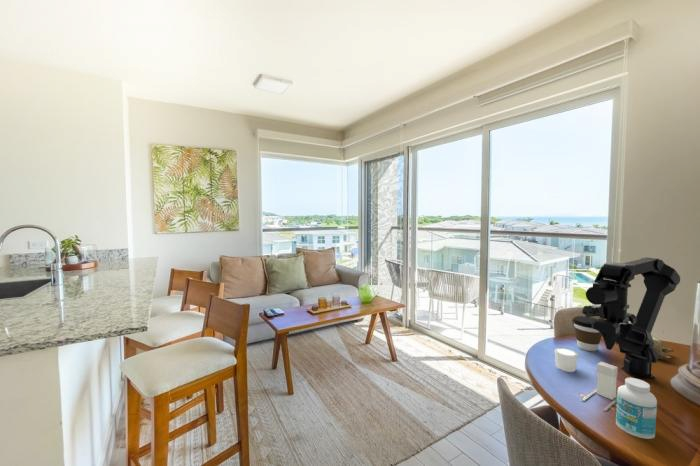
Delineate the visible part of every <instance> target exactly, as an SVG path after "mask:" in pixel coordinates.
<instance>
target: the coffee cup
mask: <svg viewBox="0 0 700 466" xmlns="http://www.w3.org/2000/svg"><path fill="white" fill-rule="evenodd" d="M598 319H599V318H594V317H586V316H582V315H581V316H580V315H578V316H576V315H575V316H574V317H573V318H572V320H571V322H572V323H573V324H574V325H573V328H574V334H575V335H574V336H575V339H576V342H577V346H578V348H580V349H581V350H583V351H586V352H587V351H588V352H596V351H597V350H599V345H600V343H601V339H602V337H603V336H602V334H601V333H600V332H599V331H597V330H595V329H593V328H592V322H594V321H596V320H598Z"/></svg>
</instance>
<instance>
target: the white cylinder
mask: <svg viewBox="0 0 700 466" xmlns="http://www.w3.org/2000/svg"><path fill="white" fill-rule="evenodd" d="M554 356H555V357H554V359H555V361H554V362H555V366H556V368H557V369H558V370H561V371H564V372H568V373H573V372H575V371H576V370H577V363H578V358H579V354H578V352H576V351H575V350H572V349H570V348H564V347H556V348H555V349H554Z"/></svg>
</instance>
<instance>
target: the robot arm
mask: <svg viewBox="0 0 700 466" xmlns="http://www.w3.org/2000/svg"><path fill="white" fill-rule="evenodd" d="M638 275H641V276H642V278H643V283H644V286H645V288H646V290H645V293H644V296H643V299H642V301H641V303H640V306H639V308H638V311H637V313H636V315H635V314H634V313H630V312H628V309H630V304H628V292H629V291H628V289H629V288H632V284H630V283H631V281H633V280H635V276H638ZM680 282H681V276H680V274H679V273H678V271H677V270H676V269H675V268H673V267H671V266H670V265H668V264H666V263H665V262H664V261H663V260H662V259H660V258H656V257H655V258H654V257H647V256H646V257H642V258H639V259H635V260H632V261H627V262H622V263H621V262H605V263H603V264H602V266H601V267H600V269H599V271H598V273H597V275H596V277H595V279H594V281H593V283H592V286H591V287H589V288H588V289H586V291H585V297H586V299H587V301H588V302H589V303H591V305H584V306H583V308H582V311H581V313H582V314H583V315H585V316H586V317H592V318H594V317H599V318H597V319H598V320H596V321H594V322H592V328H593V329H595V330H597V331H599V332H600V333H601V334H602V336H601V337H602V338H603V342H604V344H605V345H604V346H605V348H606V350H608V351H612V349H613V348H614V346H615V344H617V345H618V348H619V352H620V353H621V354H624V358H623V366H621V367H620V369H621V370H622V371H624V372H626V373H628V374H629V375H631V377H632V378H636V379H640V378H641V379H656V376H654V375H653V374H652V367H653V366H652V365H653V364H655V363H657V361H659V360H658V359H659V358H658V357H659V354H658V353H657V351H656V350H655V349H654V347H653V346H654V341H653V338H652V337H653V335H652V331H653V328H654V325H655V322H656V320H657V318H658V315H659V313H660V311H661V308H662V305H663V303H664V300H665V297H666V296H667V295H669V294H671V293H673V292H674V291H675V290H676V288H677V286H678V285H679V284H680ZM652 363H653V364H652Z"/></svg>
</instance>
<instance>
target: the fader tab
mask: <svg viewBox="0 0 700 466" xmlns="http://www.w3.org/2000/svg"><path fill="white" fill-rule="evenodd" d="M596 369H597V370H596V371H597V379H596V380H597V385H596V389H597V392H596V394H597V395H599V396H601V397H603V398H606V399H609V400H612V401H613V400H615V399H616V398H617V376H618V370H619V369H618V366H615V365H612V364H610V363H607V362H604V361H599V362H598V363H597V366H596Z"/></svg>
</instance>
